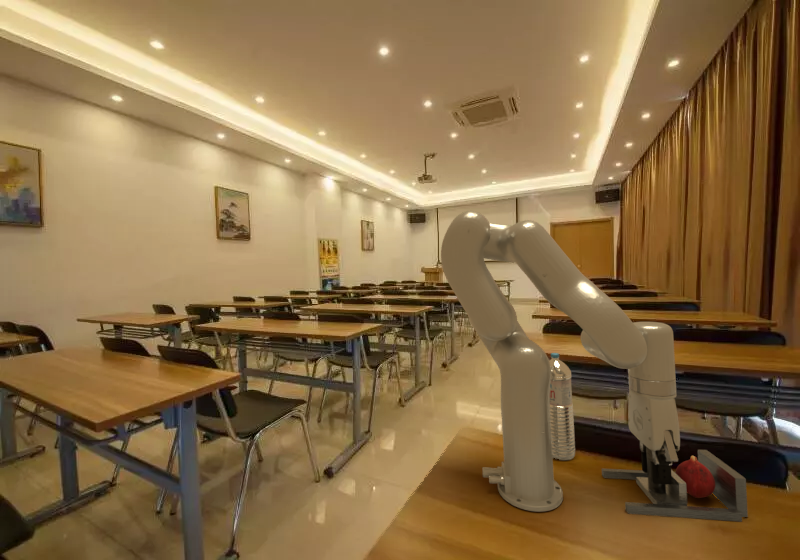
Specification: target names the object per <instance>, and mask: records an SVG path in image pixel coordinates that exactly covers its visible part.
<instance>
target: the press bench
mask: <svg viewBox="0 0 800 560" xmlns="http://www.w3.org/2000/svg"><path fill="white" fill-rule="evenodd" d="M697 460H698V462H700V463H701V464H703V465H704V466H705V467H706V468H707V469H708V470H709V471H710V472H711V474H712V475H713V477H714V480H715V489H714V492H713V494H714V495H715V496H716V497H717V499H719V500H720V501H721V502H722V503H723V504H724V505H725V506H726V507H727V508H728V509H727V508H726V507H725V506H724V505H723V504H722V503H721V502H720V501H719V502H720V503H721V504H722V505H723V506H724V507H725V508H721V507H707V506H705V507H704V506H695V505H694V506H692V505H687V506H679V505H664V504H653V503H647V502H646V503H645V502H644V503H643V502H632V501H631V502H630V501H629V502H628V501H625V502H624V505H625V506H624V507H625V508H624V509H625V512H626V513H627V514H629V515H643V516H645V515H646V516H657V517H668V518H669V517H670V518H671V517H672V518H673V517H674V518H685V519H686V518H687V519H699V520H700V519H701V520H715V521H728V522H743V518H742V517H748V516H749V515H748V496H747V479H746V478H745V477H744V476H743V475H741V474H740V472H737V471H736V470H735V469H733V468H732V467H731V466H729V465H728V464H727V463H725V462H724V461H723V460H721V459H720V458H718V457H716V456H715V455H714V454H713V453H711V452H710V451H708V449H697ZM674 472H675V473H676V471H674ZM601 476H602V477H603V479H615V480H616V479H617V480H619V479H621V480H635V481H636V477H646V478H648V473H644V472H643V471H642V469H641V470H639V469H621V468H620V469H619V468H618V469H617V468H601ZM717 499H716V500H717ZM748 518H749V517H748Z"/></svg>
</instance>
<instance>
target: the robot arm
mask: <svg viewBox="0 0 800 560" xmlns="http://www.w3.org/2000/svg"><path fill="white" fill-rule="evenodd" d="M440 249H441V250H440V261H441V266H442V271H443V274H444V276H445V278H446V280H447V283H448V285H449V287H450V288H451V290H452V292H453V293H454V295H455V297H456V299H457V300H458V302H459V303H460V306H461V307H462V309H464V311H465V313H466V314H467V316H468V321H469V323H470V325H471V326H472V328H473V329H474V331H475V332H476V334H477V337H479V339H480V340H481V342H482V343H483V345H484V346H485V348H486V350H487V351H488V353H489V355H490V356H491V358H492V359H493V360H494V362H495V363H496V366H497V368H498V369H499V374H500V411H501V412H500V414H501V415H500V416H501V425H502V427H501V428H502V445H503V448H502V449H503V461H501V466H497V467H486V466H484V467H482V478H486V479H487V478H488V482H489V484H493V485H494V484H497V491H498V492H499V495H500V496H501V497H502V499H503V500H505V501H506V502H508V503H509V504H510V505H512V506H513V507H515V508H516V507H517V508H518V509H521V510H524V511H529V512H535V513H536V512H538V513H542V512H549V511H552V510H555V509H556V508H558V507H559V506H560V505H561V504H562V502H563V500H564V492H563V489H562V487H561V485H560V484H559V483H558V482H557V481H556V480H555V479H554V478H555V477H554V460H553V459H554V458H553V457H552V437H551V419H550V384H551V366H550V362H549V360H550V358H549V357H548V355H547V353H546V352H545V351H544V350H543V348H542V347H541V346H540V345H538V343H536V342H534V341H533V340H532V339H530V338H529V337H528V335H527V334H526V332H525V331H524V329H523V327H522V326H521V324H520V323H519V321H518V316H517V312H516V310H515V307H514V306H513V305H512V304H511V302H510V301H509V300H508V298H507V297H506V296H505V294H504V293H503V291H502V289H501V288H500V287H499V285H498V284H497V282H496V281H495V279H494V277H493V276H492V274H491V271H490V270H489V268H488V267H487V264H486V263H485V262H486V261H485V260H493V261H497V262H504V263H505V262H508V263H515V264H516V265H517V266H518V267H519V268H520V270H521V271H522V272H523V273H524V274H525V275H526V276H527V278H528V279H529V280H530V282H531V283H532V284H533V285H534V287H535V289H537V291H538V292H539V293H540V294H541V296H542V297H543V298H544V299H545V300H546V301H547V302H548V303H549V304H551V305H552V306H553V307H554V308H556V309H557V310H560V312H562V313H563V314H565V315H566V316H568V317H569V318H570V319H571V320H572V321H574V323H575V324H577V325H578V326H579V327H580V328H581V329H582V331H581V333H580V343H581V345H582V347H583V348H584V349H585V351H586V352H588V353H589V354H590V355H591V356H594V357H596V358H597V359H600V360H602V361H603V362H605V363H607V364H609V365H611V366H613V367H616V368H618V369H621V370H622V369H624V370H625V369H626V370H627V374H628V389H629V393H628V409H627V410H628V411H627V412H628V415H627V418H628V430H629V431H630V432H631V434H632V435H634V436H635V438H637V440H638V441H639V449H640V451H641V452H640V454H641V470H642V471H643V472H644V473H648V472H647V451H646V447H647V448H649V449H650V450H652V456H653V462H651V477H652V482H653V483H654V484H669V485H670V484H672V476H671V469H672V465H673V463H678V462H679V458H678V457H679V456H678V455H677V452H679V451H680V449H681V448H680V447H681V435H680V434H681V433H680V424H679V416H678V409H677V405H676V399H675V398H677V383H676V382H677V380H676V379H677V378H676V363H675V361H676V359H675V344H674V343H675V342H674V331H673V328H672V327H671V326H670V325H669V324H666V323H663V322H657V321H636V322H633V321H632V320H631V318H629V316H628V315H627V313H625V311H624V310H623V309H622V308H621V306H619V305H618V304H617V303H616V302H615V301H614V300H613V299H612V298H611V297H610V296H608V295H607V294H606V293H605V292H604V291H602V290H601V289H600V288H599V287H598V286H597V285H596V284H595V283H594V282H593V281H591V280H590V279H589V278H588V277H587V276H585V275H584V274H583V273H582V272H581V271H580V269H579V268H578V267H577V266H576V265H575V264H574V262H573V261H572V260H571V258H570V257H568V255H567V254H566V253H565V252H564V250H563V249H562V248H561V246H560V245H559V244H558V243H557V242H556V240H555V239H554V238H553V237H552V236H551V234H550V233H549V232H548V231H547V229H545V227H544V226H543V225H541V224H540V223H539V222H537V221H534V220H531V219H530V220H528V219H527V220H526V219H525V220H522V221H519V222H515V223H514V224H513V225H509V224H508V225H507V224H500V223H499V224H498V223H491V222H489V220H488V219H487V217H486V216H484V214H482V213H480V212H478V211H475V210H467V211H464V212H461V213H459V214H458V215H456V217H454V219H453V220H452V221H451V222H450V224H449V226H448V228H447V229H446V231H445V234H444V237H443V239H442V243H441V247H440ZM662 445H664V446H662ZM658 452H664V454H660V455H659V456H658Z"/></svg>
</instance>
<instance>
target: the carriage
mask: <svg viewBox="0 0 800 560" xmlns="http://www.w3.org/2000/svg"><path fill="white" fill-rule="evenodd" d="M662 446H664V445H662ZM646 451H647V472H648V478H646V477H636V480H635V483H636V484H637V485H638V486H639V488H640V489H641V491H642V492H643V493H644V494H645V495H646V496H647V498H648V499H649V501H650V502H651V504H664V505H679V506H688V493H687V489H686V483H685V482H684V481H683V480H682V479H681V478H680V477H679V476H678V475H677V474H676V473H675V472H676V471H673V469H672V468H671V476H672V484H670V485H669V484H654V483H653V482H652V477H651V462H653V456H652V450H650V449H649V448H647V447H646ZM660 454H665V452H658V456H659V455H660Z"/></svg>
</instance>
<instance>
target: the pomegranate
mask: <svg viewBox="0 0 800 560" xmlns="http://www.w3.org/2000/svg"><path fill="white" fill-rule="evenodd" d="M675 472H676V474H677V475H678V476H679V477H680V478H681V479H682V480H683V481H684V482H685V483H686V489H687V495H690V497H692V498H694V499H702V498H707V497H709V496H711V495H712V493H713V492H714V489H715V480H714V477H713V475H712V474H711V472H710V471H709V470H708V469H707V468H706V467H705V466H704V465H703V464H701V463H700V462H698V457H696V456H694V455H691V456H690V459H688V460H685V461H682V462H680V464H678V465H677V467H676V469H675Z"/></svg>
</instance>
